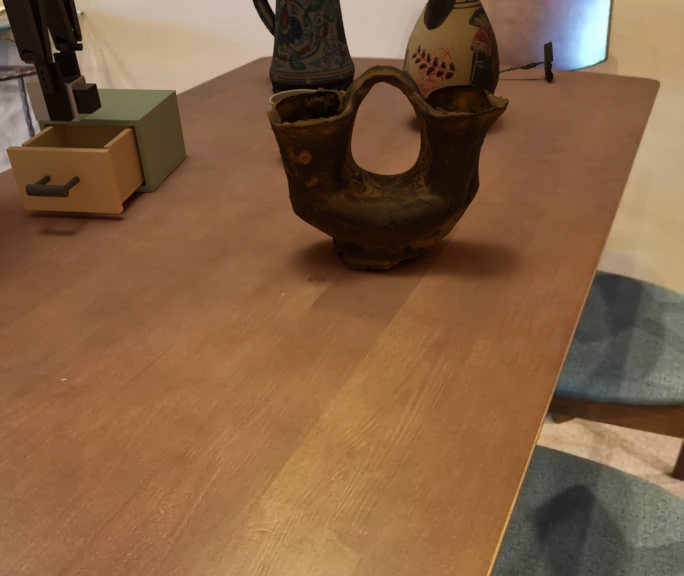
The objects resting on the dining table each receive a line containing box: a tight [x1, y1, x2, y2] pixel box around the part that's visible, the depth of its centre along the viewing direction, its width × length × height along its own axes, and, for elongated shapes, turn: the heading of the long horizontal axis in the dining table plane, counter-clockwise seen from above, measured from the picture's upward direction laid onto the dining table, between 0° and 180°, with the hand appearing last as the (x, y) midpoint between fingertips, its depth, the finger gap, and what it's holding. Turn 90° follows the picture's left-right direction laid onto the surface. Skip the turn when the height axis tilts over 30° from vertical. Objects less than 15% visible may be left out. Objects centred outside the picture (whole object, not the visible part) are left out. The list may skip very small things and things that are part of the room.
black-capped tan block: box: [25, 74, 102, 122], centre depth 91 cm, size 8×4×4 cm, turn 80°
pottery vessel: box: [266, 64, 510, 271], centre depth 79 cm, size 25×11×20 cm, turn 88°
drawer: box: [5, 124, 145, 215], centre depth 96 cm, size 18×13×8 cm
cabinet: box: [37, 88, 187, 193], centre depth 105 cm, size 15×15×10 cm
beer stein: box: [252, 0, 356, 94], centre depth 132 cm, size 16×19×25 cm
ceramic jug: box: [402, 0, 501, 102], centre depth 111 cm, size 17×15×30 cm
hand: (70, 114), depth 92 cm, fingers closed on black-capped tan block, 4 cm apart
